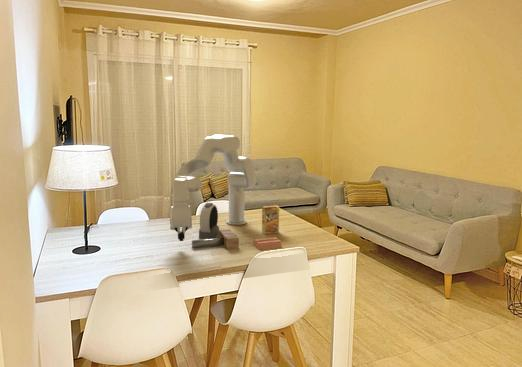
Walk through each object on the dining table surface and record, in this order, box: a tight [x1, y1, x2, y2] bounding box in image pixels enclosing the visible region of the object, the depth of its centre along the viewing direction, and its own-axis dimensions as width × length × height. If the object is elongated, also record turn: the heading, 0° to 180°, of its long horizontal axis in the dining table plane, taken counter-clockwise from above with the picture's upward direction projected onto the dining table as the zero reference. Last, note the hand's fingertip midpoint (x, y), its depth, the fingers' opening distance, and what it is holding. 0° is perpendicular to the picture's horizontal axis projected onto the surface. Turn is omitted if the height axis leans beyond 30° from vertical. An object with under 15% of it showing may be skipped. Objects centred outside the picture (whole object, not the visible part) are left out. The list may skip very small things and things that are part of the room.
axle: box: [191, 237, 224, 249], centre depth 202 cm, size 20×4×4 cm, turn 110°
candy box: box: [261, 204, 280, 235], centre depth 225 cm, size 9×4×15 cm, turn 107°
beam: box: [218, 228, 240, 250], centre depth 205 cm, size 16×6×6 cm, turn 21°
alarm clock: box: [198, 202, 220, 240], centre depth 217 cm, size 16×10×18 cm, turn 168°
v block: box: [252, 236, 282, 251], centre depth 203 cm, size 9×12×3 cm
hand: (181, 240), depth 196 cm, fingers closed
